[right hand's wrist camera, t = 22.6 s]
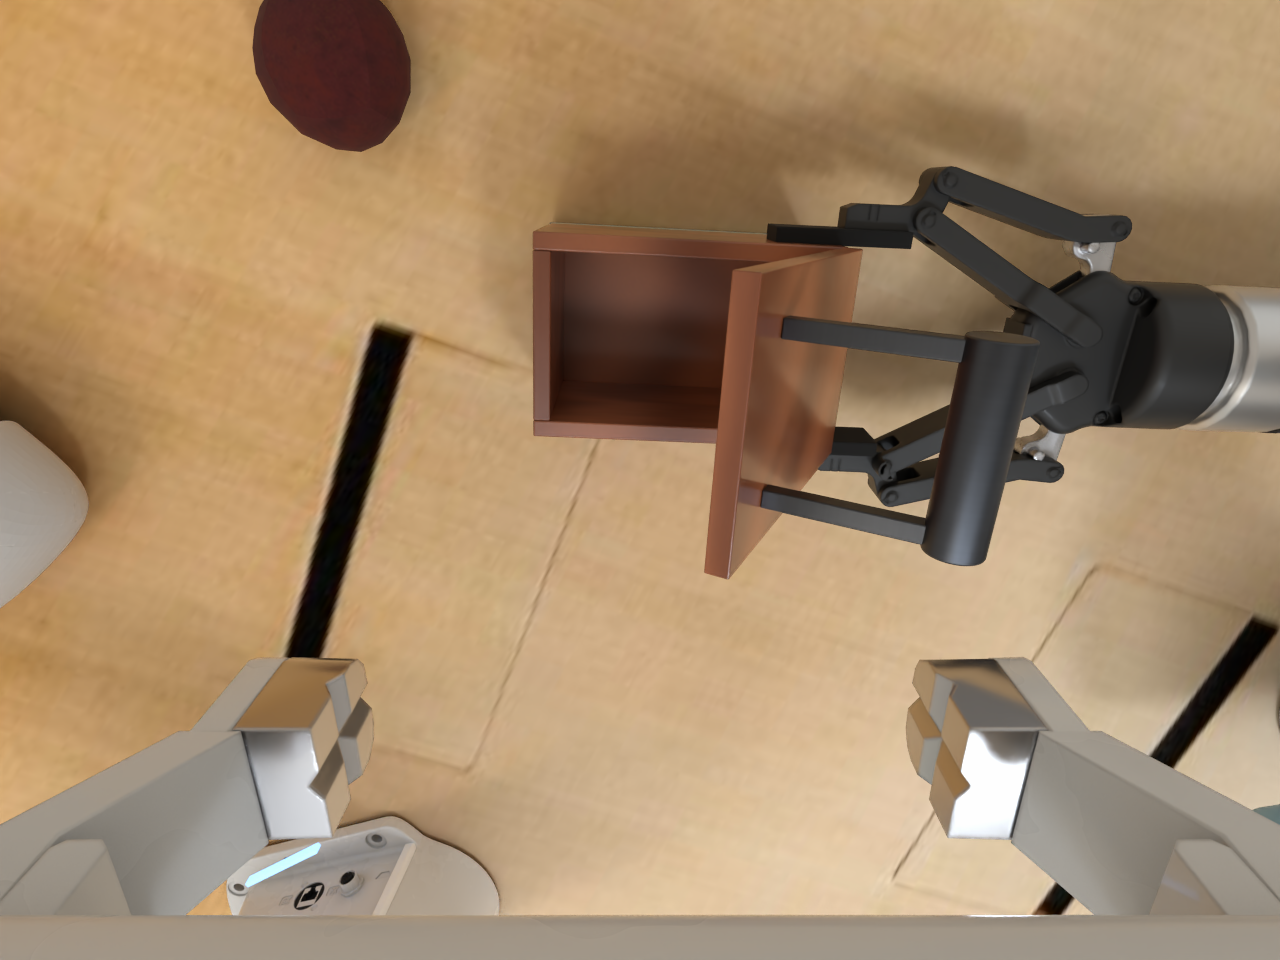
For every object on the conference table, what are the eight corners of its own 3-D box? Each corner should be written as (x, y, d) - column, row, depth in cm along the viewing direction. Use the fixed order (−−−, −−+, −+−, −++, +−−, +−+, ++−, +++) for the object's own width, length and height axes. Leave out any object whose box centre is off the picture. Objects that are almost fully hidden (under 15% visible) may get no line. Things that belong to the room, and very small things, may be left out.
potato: (408, -19, 38) (359, -63, 31) (443, 144, 40) (405, 136, 34) (270, 3, 38) (193, -36, 31) (314, 164, 41) (252, 159, 34)
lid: (703, 573, 25) (969, 646, 21) (731, 269, 21) (1057, 301, 18) (813, 449, 37) (990, 483, 34) (843, 247, 34) (1044, 263, 30)
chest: (550, 390, 46) (533, 436, 37) (551, 222, 42) (532, 230, 33) (783, 400, 46) (820, 448, 38) (804, 235, 42) (850, 247, 34)
